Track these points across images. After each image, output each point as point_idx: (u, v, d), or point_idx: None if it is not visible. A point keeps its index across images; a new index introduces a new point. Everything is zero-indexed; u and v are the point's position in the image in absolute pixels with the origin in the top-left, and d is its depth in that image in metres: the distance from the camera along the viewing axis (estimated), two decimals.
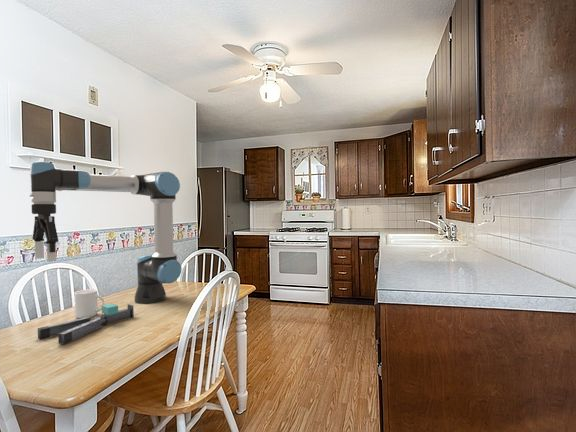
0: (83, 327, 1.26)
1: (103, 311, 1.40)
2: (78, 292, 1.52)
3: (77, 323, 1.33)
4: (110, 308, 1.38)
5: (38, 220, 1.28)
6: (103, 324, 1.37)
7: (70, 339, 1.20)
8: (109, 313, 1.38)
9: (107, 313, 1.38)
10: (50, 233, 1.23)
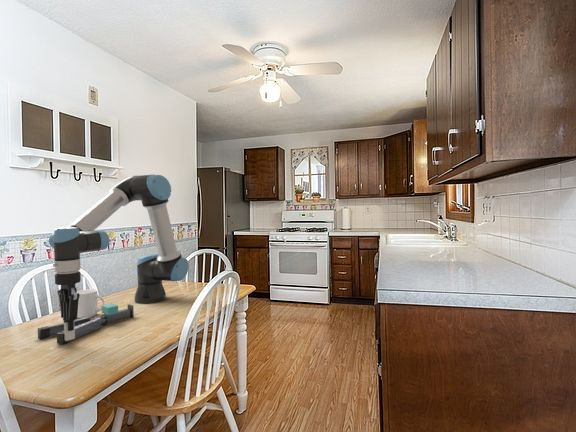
0: (82, 327, 1.26)
1: (103, 311, 1.40)
2: (78, 292, 1.52)
3: (77, 323, 1.33)
4: (110, 308, 1.38)
5: (61, 289, 1.18)
6: (103, 324, 1.37)
7: None
8: (109, 313, 1.38)
9: (107, 313, 1.38)
10: (71, 313, 1.16)
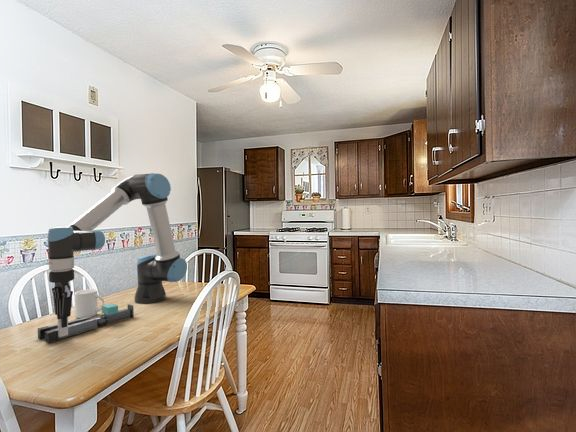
0: (73, 327, 1.26)
1: (103, 311, 1.40)
2: (78, 292, 1.52)
3: None
4: (110, 308, 1.38)
5: (55, 287, 1.21)
6: (103, 324, 1.37)
7: (56, 338, 1.21)
8: (109, 313, 1.38)
9: (107, 313, 1.38)
10: (64, 310, 1.19)
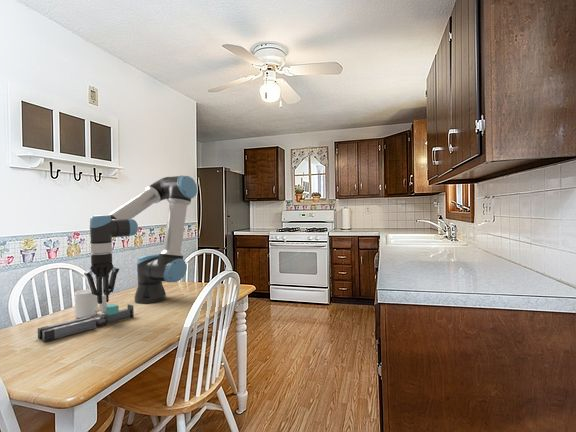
0: (70, 326, 1.27)
1: None
2: (78, 292, 1.52)
3: None
4: (110, 308, 1.39)
5: None
6: (103, 324, 1.37)
7: (52, 337, 1.22)
8: (109, 313, 1.38)
9: (107, 313, 1.38)
10: (90, 288, 1.36)
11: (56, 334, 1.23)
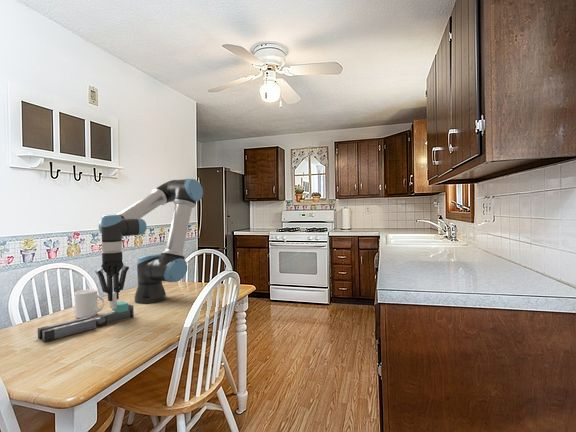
0: (70, 326, 1.27)
1: (113, 309, 1.44)
2: (78, 292, 1.52)
3: None
4: (120, 306, 1.42)
5: None
6: (103, 324, 1.37)
7: (52, 337, 1.22)
8: (119, 310, 1.41)
9: (118, 310, 1.41)
10: (101, 285, 1.39)
11: (56, 334, 1.23)
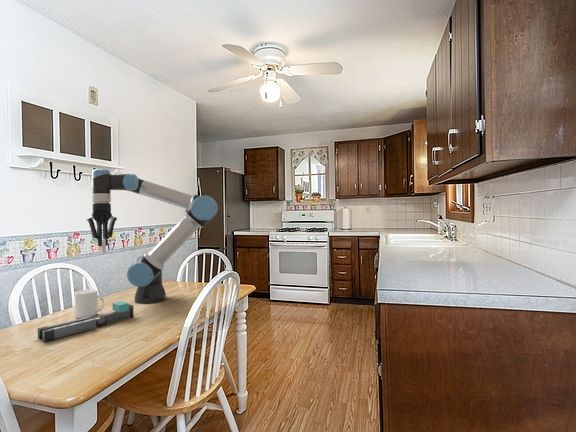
0: (70, 326, 1.27)
1: (114, 308, 1.44)
2: (78, 292, 1.52)
3: None
4: (121, 306, 1.42)
5: None
6: (103, 324, 1.37)
7: (52, 337, 1.22)
8: (120, 310, 1.41)
9: (118, 310, 1.42)
10: (92, 232, 1.57)
11: (56, 334, 1.23)
